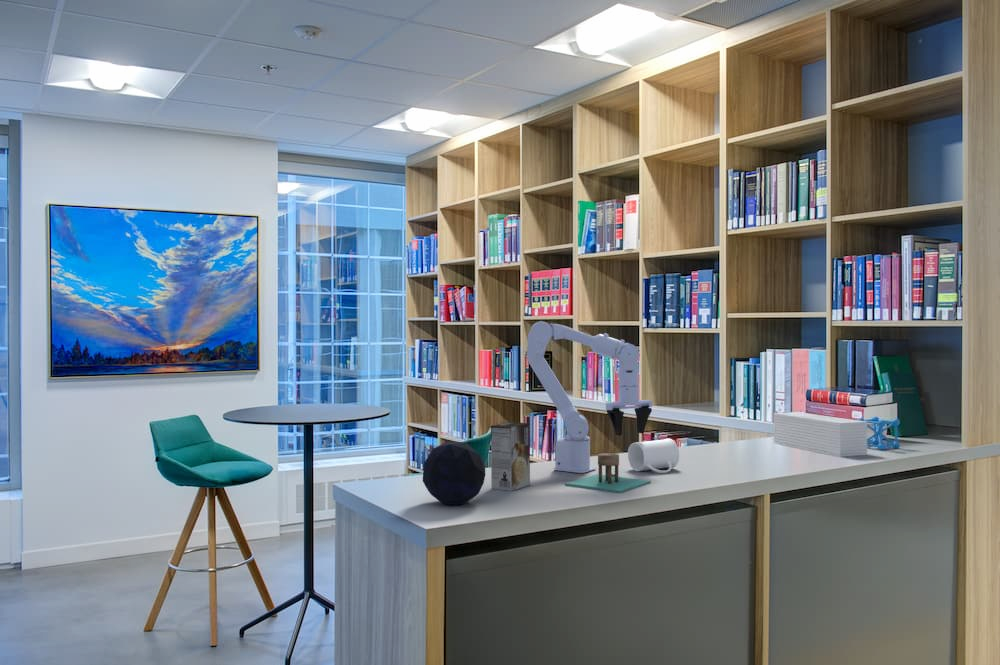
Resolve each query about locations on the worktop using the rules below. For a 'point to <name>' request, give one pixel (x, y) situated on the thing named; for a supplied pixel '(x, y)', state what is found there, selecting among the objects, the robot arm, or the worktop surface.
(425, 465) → the decorative orb
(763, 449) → the worktop surface
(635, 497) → the worktop surface
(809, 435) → the stack of papers
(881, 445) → the molecular structure
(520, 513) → the worktop surface
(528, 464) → the coffee box
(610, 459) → the walnut stool
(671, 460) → the mug
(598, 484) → the teal mat
